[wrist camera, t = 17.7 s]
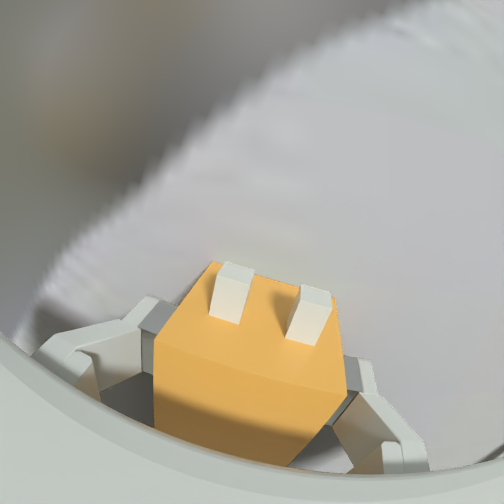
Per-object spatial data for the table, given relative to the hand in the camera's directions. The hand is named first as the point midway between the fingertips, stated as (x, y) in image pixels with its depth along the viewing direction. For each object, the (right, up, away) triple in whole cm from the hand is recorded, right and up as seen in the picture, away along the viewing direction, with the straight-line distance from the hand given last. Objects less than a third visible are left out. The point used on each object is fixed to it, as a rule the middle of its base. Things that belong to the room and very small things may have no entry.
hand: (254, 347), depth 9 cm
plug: (-2, -6, +5) cm, 8 cm away
